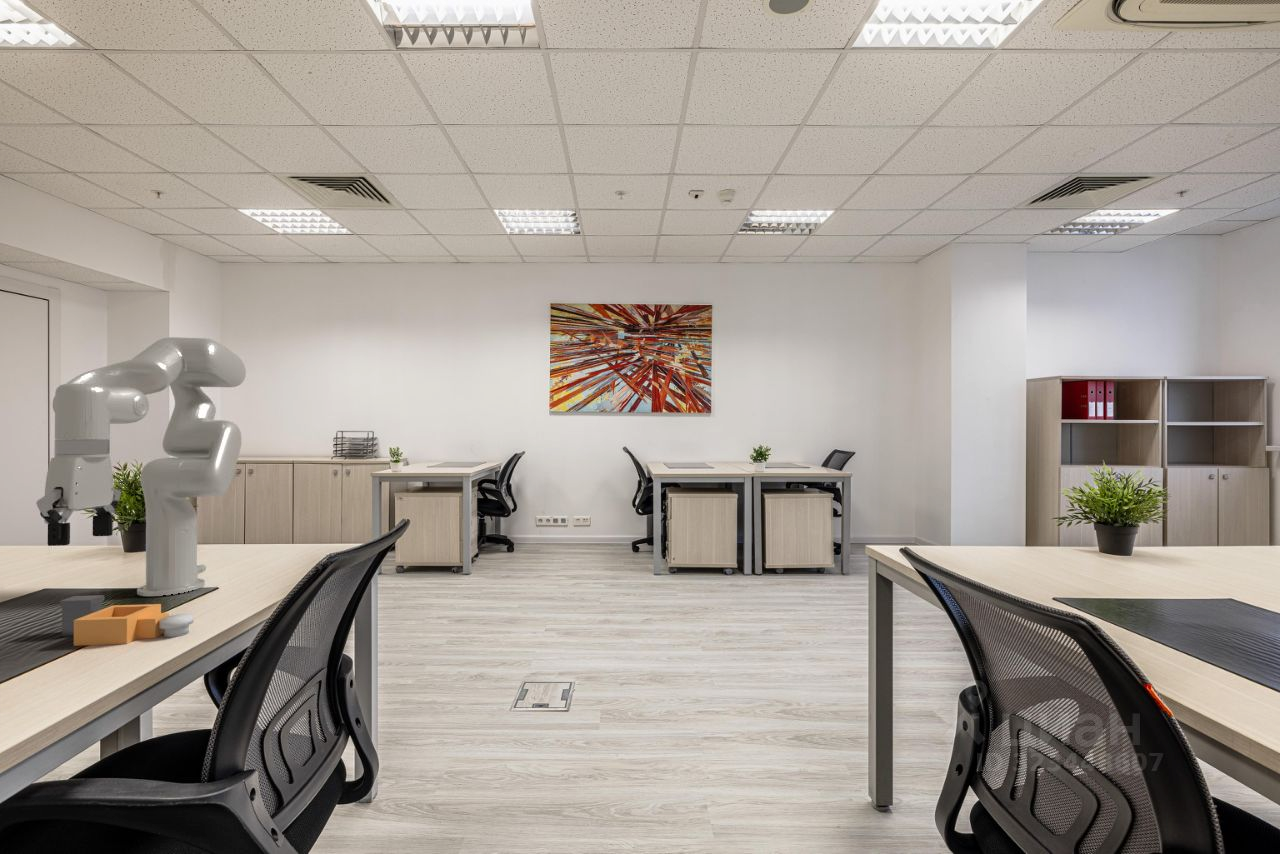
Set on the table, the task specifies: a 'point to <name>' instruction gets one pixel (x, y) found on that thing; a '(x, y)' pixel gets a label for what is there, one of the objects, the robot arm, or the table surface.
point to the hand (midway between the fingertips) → (81, 540)
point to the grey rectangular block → (78, 610)
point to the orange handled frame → (129, 625)
